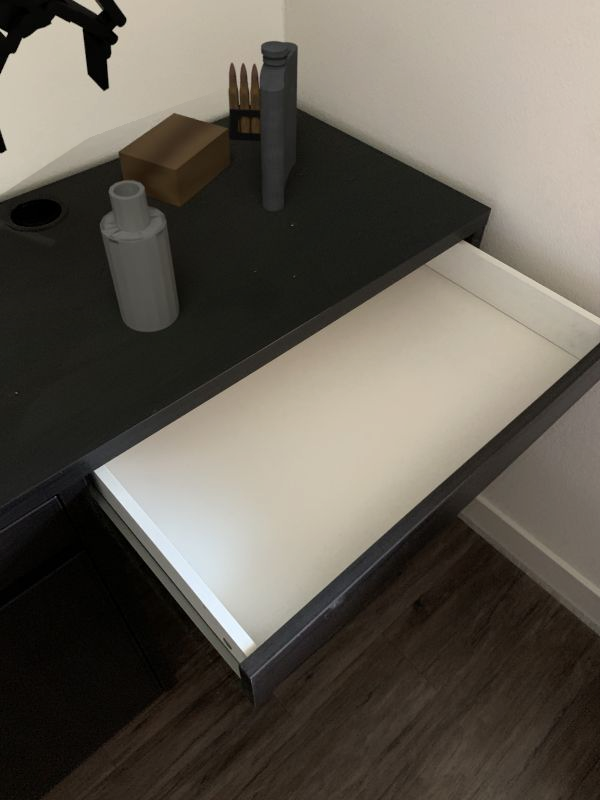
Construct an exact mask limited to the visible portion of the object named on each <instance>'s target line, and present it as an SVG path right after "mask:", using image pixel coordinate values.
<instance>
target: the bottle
mask: <svg viewBox="0 0 600 800" xmlns="http://www.w3.org/2000/svg"><path fill="white" fill-rule="evenodd" d="M108 196H109V199H110V205H111V209H112V210H110V211H109V212H108V213H106V214H105V215H104V216H103V217H102V219H101V221H100V223H99V227H100V233H101V236H102V241H103V245H104V250H105V254H106V257H107V261H108V267H109V270H110V275H111V279H112V282H113V288H114V292H115V295H116V300H117V303H118V307H119V308H118V309H119V312H120V316H121V318H122V320H121V321H122V322H123V323H124V325H125V326H127V327H128V328H129V329H131V330H133V331H136V332H141V333H154V332H158V331H162V330H164V329H166V328H169V327H170V326H172V324H174V323H175V322H176V321H177V319H178V317H179V315H180V303H179V298H178V289H177V283H176V277H175V271H174V264H173V258H172V257H173V256H172V252H171V251H172V250H171V244H170V243H171V242H170V237H169V229H168V224H167V219H166V216H165V214H164V213H163V212H162V211H161V210H160V209H158V208H157V207H154V206H151V205H148V200H147V196H146V193H145V188H144V186H143V185H142V184H141V183H140V182H136V181H124V180H121V181H117V182H114V184H112V185H111V186H110V187H109V190H108Z"/></svg>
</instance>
